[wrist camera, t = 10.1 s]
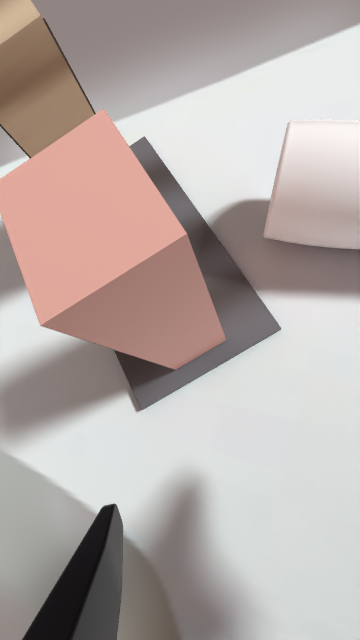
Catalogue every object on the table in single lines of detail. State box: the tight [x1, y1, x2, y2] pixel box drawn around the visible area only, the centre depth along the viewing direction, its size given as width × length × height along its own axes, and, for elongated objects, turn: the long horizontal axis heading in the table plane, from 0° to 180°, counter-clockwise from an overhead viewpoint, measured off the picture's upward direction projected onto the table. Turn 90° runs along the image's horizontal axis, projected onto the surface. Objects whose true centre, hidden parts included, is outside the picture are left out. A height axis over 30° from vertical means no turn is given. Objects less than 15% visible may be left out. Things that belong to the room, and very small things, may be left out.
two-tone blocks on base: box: [0, 0, 281, 410], centre depth 16 cm, size 22×11×14 cm, turn 29°
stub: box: [0, 109, 226, 370], centre depth 13 cm, size 5×4×13 cm
